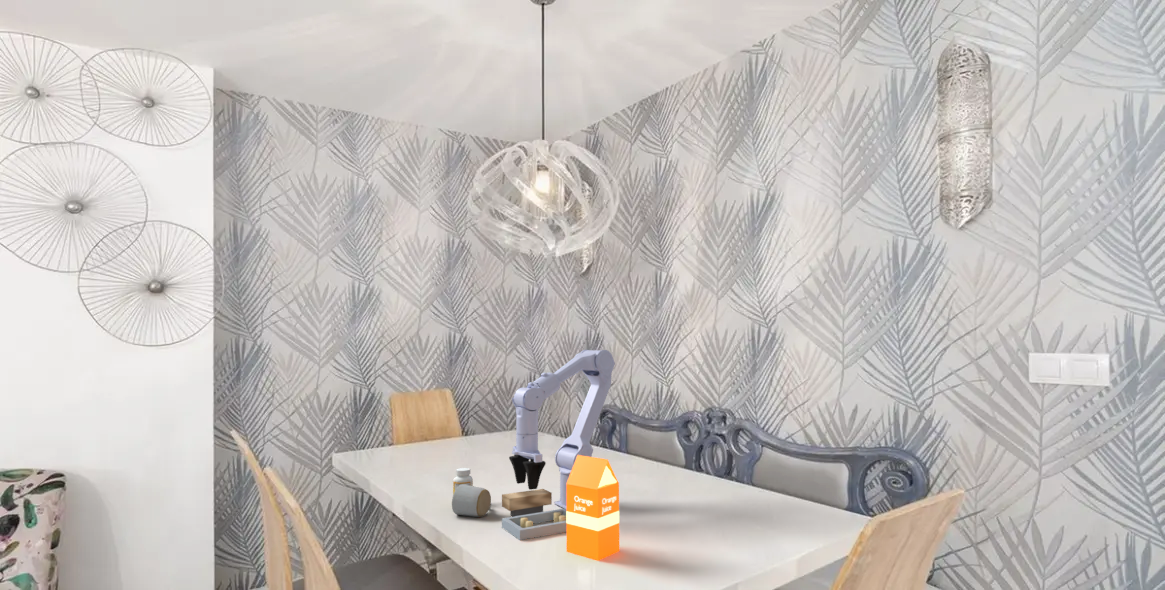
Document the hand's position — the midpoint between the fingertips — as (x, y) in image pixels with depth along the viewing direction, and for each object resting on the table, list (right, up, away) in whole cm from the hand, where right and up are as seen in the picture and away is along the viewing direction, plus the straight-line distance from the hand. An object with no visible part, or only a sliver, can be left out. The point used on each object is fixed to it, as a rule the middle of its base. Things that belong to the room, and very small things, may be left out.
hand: (526, 485), depth 155 cm
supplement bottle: (-19, -9, +10) cm, 23 cm away
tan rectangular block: (0, -5, 0) cm, 5 cm away
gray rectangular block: (0, -8, -1) cm, 8 cm away
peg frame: (+5, -7, -11) cm, 14 cm away
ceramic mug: (-14, -8, +1) cm, 16 cm away
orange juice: (+17, -5, -28) cm, 33 cm away
